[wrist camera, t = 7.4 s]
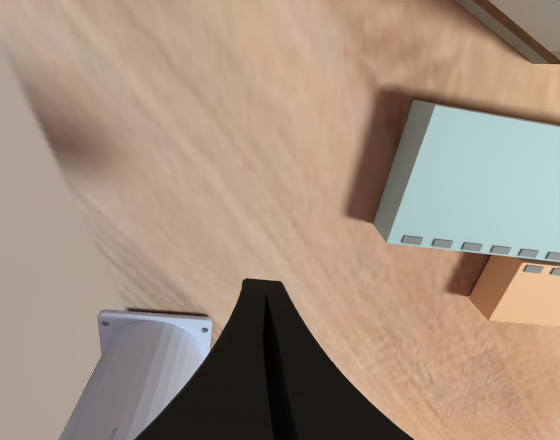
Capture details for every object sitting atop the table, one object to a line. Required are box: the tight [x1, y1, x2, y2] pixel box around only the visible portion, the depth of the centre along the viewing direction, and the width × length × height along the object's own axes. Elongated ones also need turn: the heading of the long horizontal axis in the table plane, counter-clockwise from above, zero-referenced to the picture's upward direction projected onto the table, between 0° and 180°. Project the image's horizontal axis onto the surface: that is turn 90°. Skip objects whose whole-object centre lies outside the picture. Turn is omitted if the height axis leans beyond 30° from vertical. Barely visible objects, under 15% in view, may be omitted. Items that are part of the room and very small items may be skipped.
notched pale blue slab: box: [373, 100, 560, 262], centre depth 20 cm, size 8×13×3 cm, turn 81°
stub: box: [469, 255, 560, 326], centre depth 24 cm, size 5×10×2 cm, turn 81°
